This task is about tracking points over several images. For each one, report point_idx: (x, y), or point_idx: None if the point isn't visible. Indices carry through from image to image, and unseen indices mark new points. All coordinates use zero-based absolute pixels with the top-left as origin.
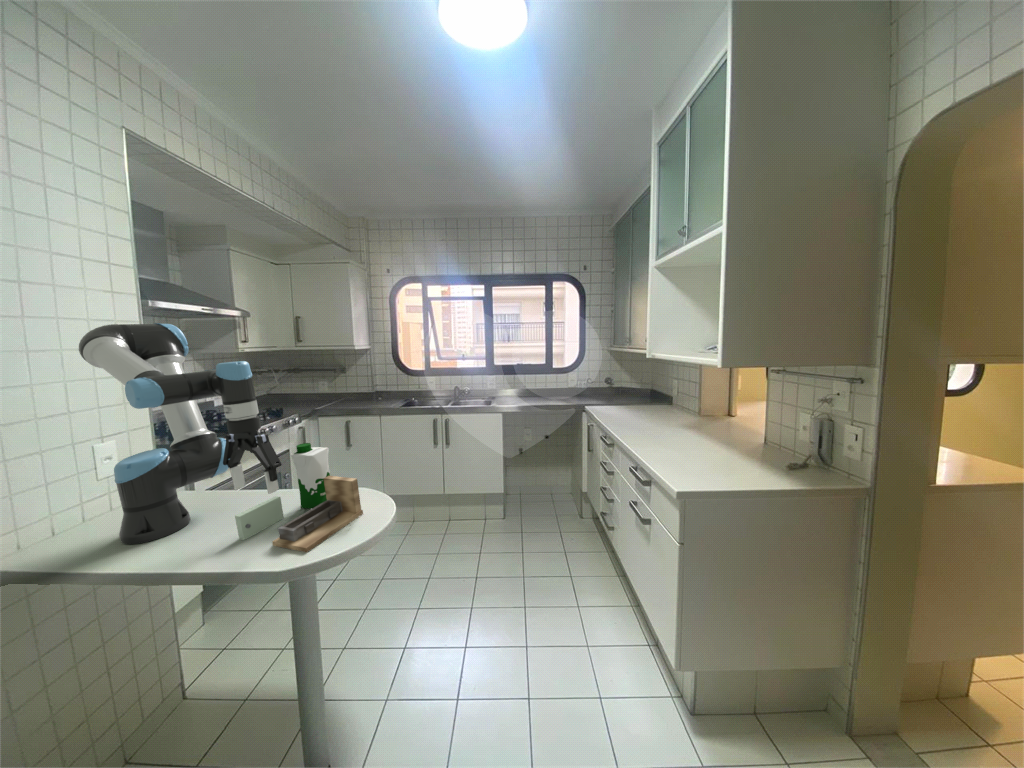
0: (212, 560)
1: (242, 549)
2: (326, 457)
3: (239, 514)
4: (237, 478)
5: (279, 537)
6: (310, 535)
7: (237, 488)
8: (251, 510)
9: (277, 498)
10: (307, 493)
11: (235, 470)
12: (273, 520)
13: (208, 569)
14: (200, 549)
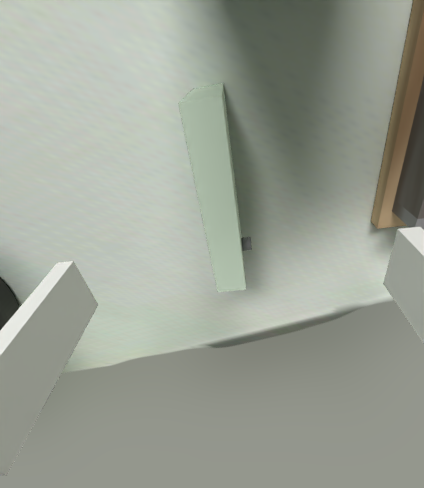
0: (262, 302)
1: (289, 260)
2: None
3: (224, 282)
4: (53, 351)
5: (384, 207)
6: None
7: (92, 304)
8: (237, 251)
9: (223, 117)
10: None
11: (12, 429)
12: (229, 138)
13: (291, 317)
14: (177, 293)
